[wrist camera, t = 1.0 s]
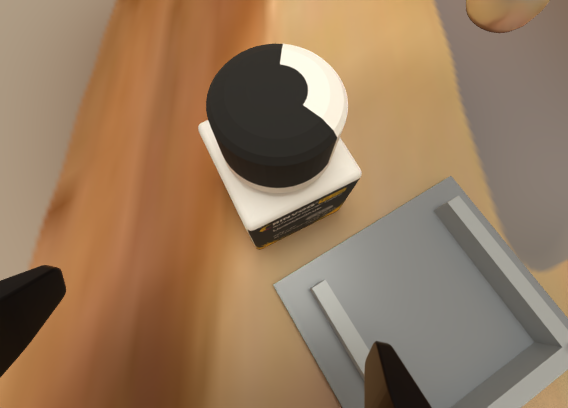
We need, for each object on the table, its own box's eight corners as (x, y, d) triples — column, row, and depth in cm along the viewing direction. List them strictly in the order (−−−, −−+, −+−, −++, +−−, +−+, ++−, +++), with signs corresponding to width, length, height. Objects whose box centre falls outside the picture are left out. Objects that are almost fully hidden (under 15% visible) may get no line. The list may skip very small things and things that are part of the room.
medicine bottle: (257, 251, 22) (232, 203, 10) (219, 172, 24) (161, 57, 12) (340, 209, 23) (400, 124, 11) (297, 137, 25) (312, 0, 13)
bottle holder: (577, 343, 20) (623, 350, 18) (391, 493, 18) (410, 529, 15) (445, 179, 24) (466, 164, 21) (273, 285, 21) (272, 283, 18)
